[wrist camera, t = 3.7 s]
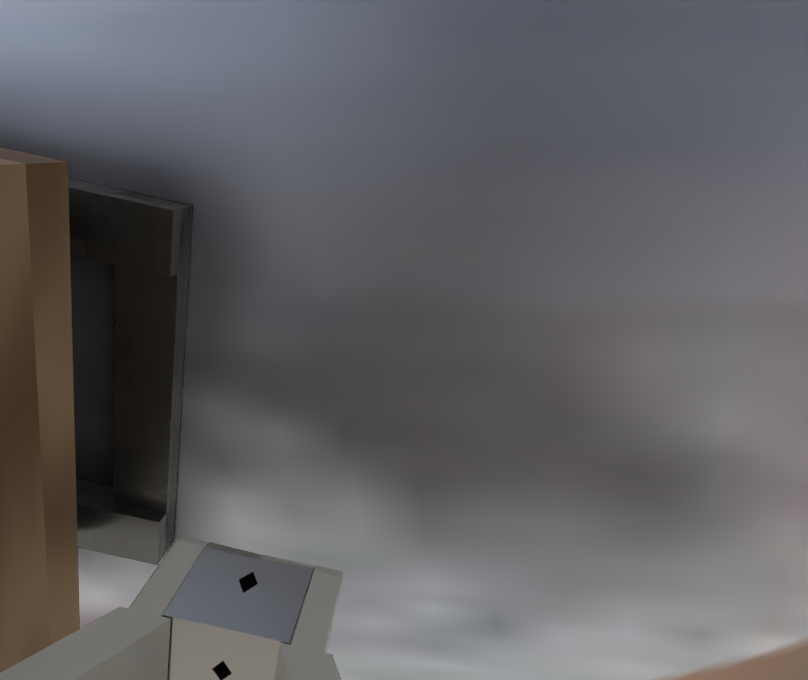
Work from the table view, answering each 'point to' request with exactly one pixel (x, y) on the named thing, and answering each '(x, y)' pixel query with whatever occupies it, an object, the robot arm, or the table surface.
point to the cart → (36, 409)
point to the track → (137, 364)
